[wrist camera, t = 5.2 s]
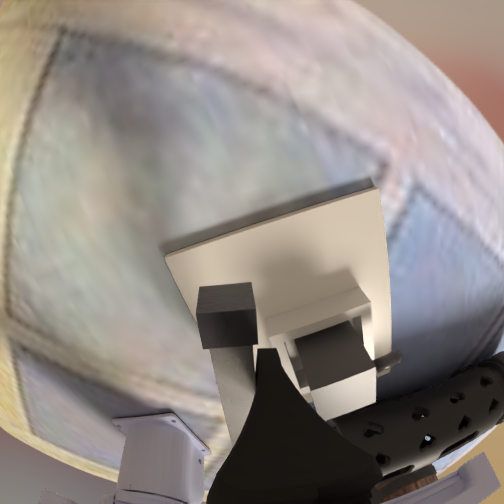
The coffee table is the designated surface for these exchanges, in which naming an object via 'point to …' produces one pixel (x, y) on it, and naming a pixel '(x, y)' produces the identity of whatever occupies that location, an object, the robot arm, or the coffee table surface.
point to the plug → (340, 369)
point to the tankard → (403, 484)
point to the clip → (230, 346)
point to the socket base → (303, 275)
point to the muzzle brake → (428, 419)
